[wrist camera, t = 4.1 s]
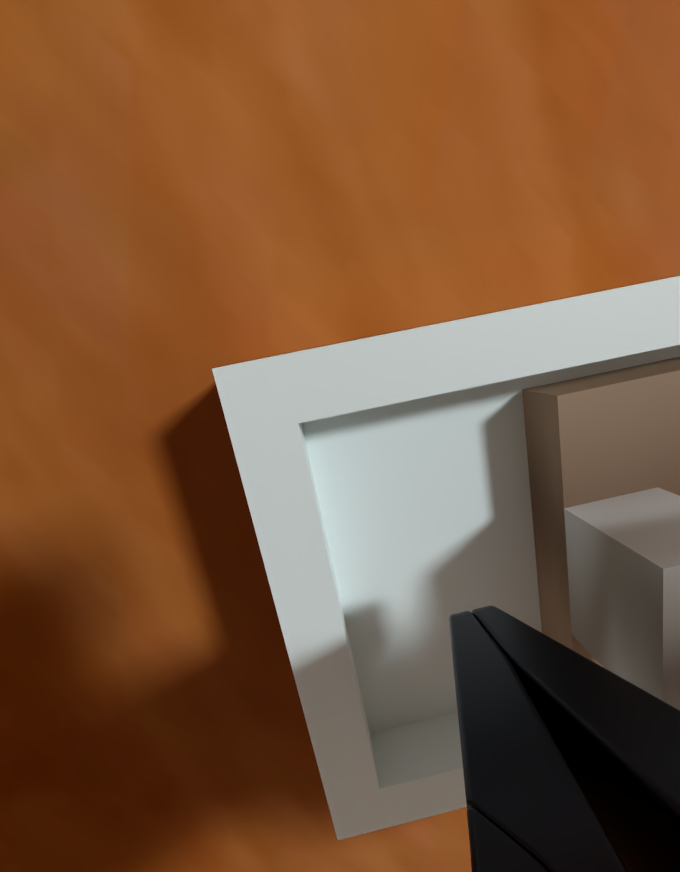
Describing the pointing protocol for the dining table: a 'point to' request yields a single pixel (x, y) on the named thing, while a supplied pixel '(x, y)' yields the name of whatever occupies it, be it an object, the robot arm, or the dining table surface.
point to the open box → (409, 519)
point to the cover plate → (595, 457)
